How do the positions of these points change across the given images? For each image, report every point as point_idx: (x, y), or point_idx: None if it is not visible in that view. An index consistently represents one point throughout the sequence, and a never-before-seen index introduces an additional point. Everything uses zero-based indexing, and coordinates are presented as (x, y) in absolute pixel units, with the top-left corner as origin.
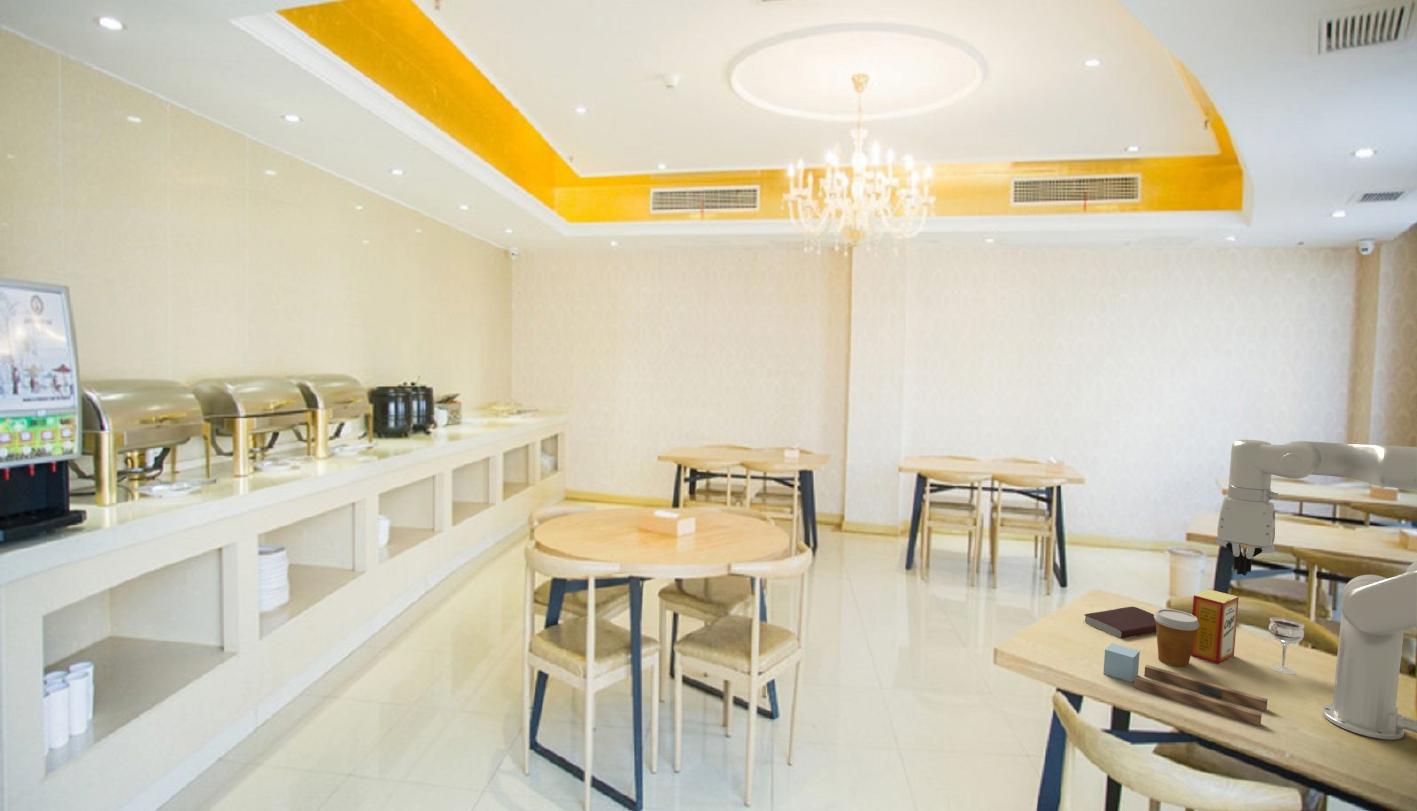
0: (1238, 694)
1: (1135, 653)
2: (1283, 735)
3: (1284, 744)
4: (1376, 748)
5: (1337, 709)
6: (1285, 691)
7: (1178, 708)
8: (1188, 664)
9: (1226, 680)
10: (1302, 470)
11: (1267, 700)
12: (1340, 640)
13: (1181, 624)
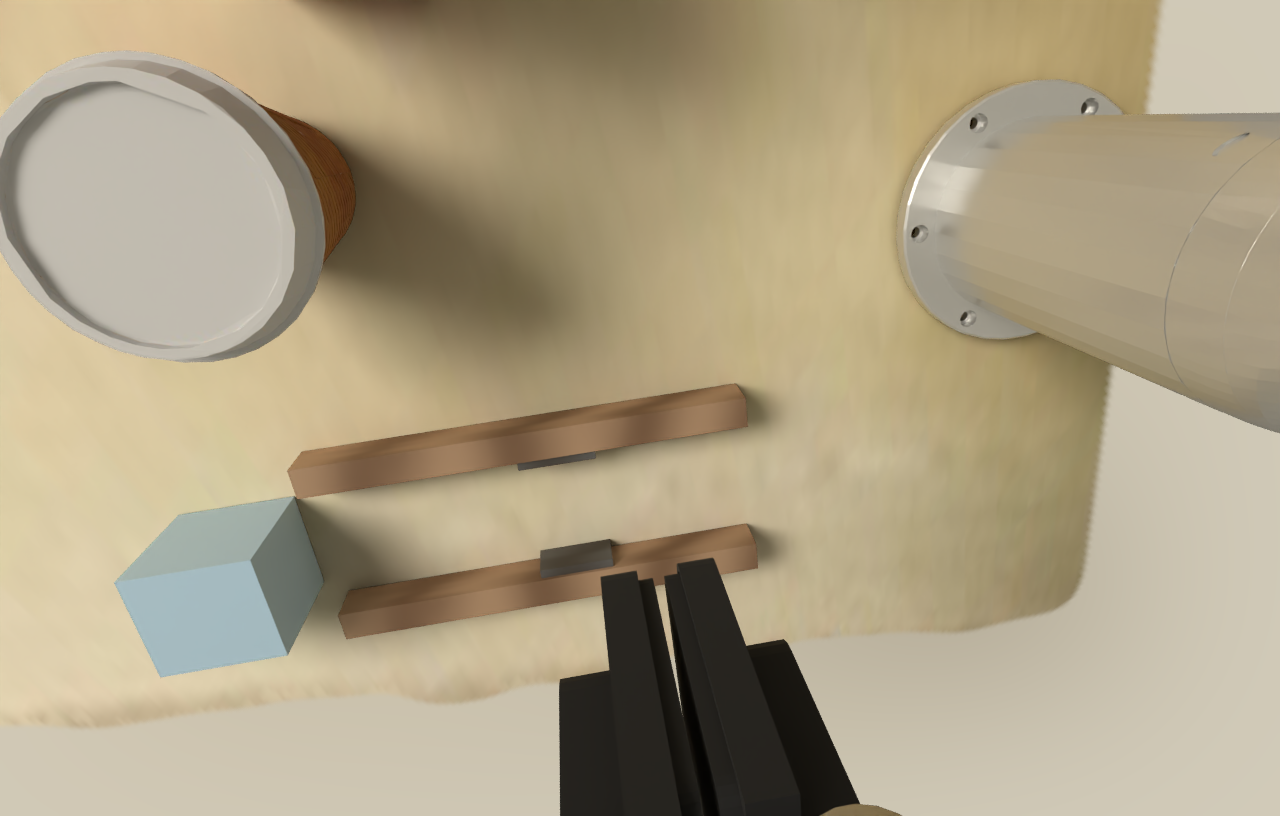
0: (653, 439)
1: (261, 606)
2: (812, 546)
3: (823, 601)
4: (1039, 394)
5: (965, 289)
6: (753, 104)
7: (531, 637)
8: (349, 170)
9: (541, 212)
10: None
11: (744, 398)
12: (1207, 359)
13: (260, 335)
